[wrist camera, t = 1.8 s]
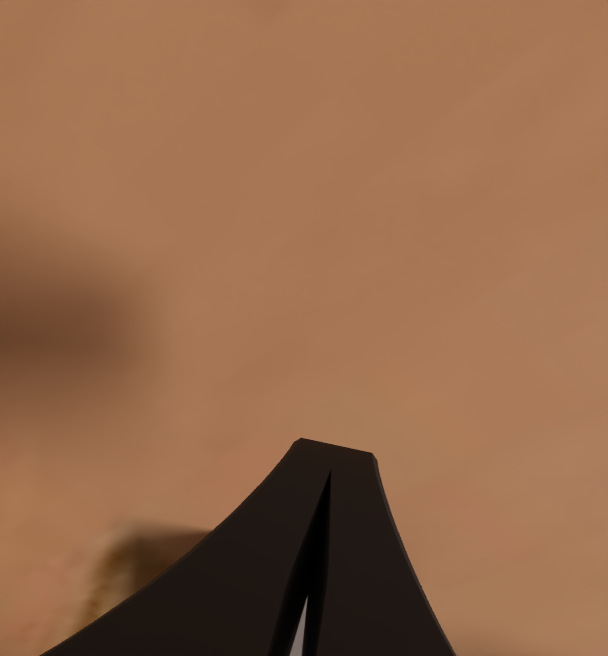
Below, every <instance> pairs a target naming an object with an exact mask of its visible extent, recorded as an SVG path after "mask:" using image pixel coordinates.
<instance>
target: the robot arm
mask: <svg viewBox="0 0 608 656" xmlns="http://www.w3.org/2000/svg"><path fill="white" fill-rule="evenodd" d="M307 596H308V597H307ZM306 599H307V606H306V616H305V626H304V635H303V645H302V655H301V656H456V654H455V652H454V650H453V649H452V647H451V645H450V643H449V641H448V639H447V638H446V636H445V634H444V632H443V630H442V628H441V626H440V624H439V622H438V620H437V618H436V616H435V614H434V612H433V610H432V608H431V606H430V604H429V602H428V600H427V598H426V595H425V593H424V591H423V589H422V587H421V585H420V583H419V581H418V578H417V576H416V574H415V572H414V569H413V567H412V565H411V562H410V560H409V558H408V555H407V553H406V550H405V548H404V545H403V543H402V540H401V537H400V535H399V532H398V530H397V527H396V525H395V522H394V519H393V516H392V514H391V511H390V508H389V504H388V501H387V498H386V495H385V492H384V488H383V485H382V481H381V477H380V473H379V468H378V462H377V459H376V458H375V456H374V455H373V454H372V453H370V452H365V451H360V450H356V449H351V448H346V447H342V446H337V445H332V444H328V443H323V442H318V441H314V440H309V439H304V438H300V439H298V440H297V441H295V442H294V443H293V444H292V446H291V447H290V449H289V450H288V452H287V453H286V454H285V456H284V457H283V458H282V459H281V461H280V462H279V463H278V464H277V466H276V467H275V468H274V469H273V470H272V471H271V473H270V474H269V475H268V476H267V477H266V478H265V479H264V480H263V482H262V483H261V484H260V485H259V486H258V487H257V488H256V489H255V490H254V491H253V492H252V493H251V494H250V495H249V496H248V497H247V498H246V499H245V500H244V501H243V502H242V503H241V504H240V505H239V506H238V507H237V508H236V509H235V510H234V511H233V512H232V513H231V514H230V515H229V516H228V517H227V518H226V519H225V520H224V521H223V522H221V523H220V524H219V525H218V526H217V527H216V528H215V529H214V530H213V531H212V532H210V533H209V534H208V535H207V536H206V537H205V538H204V539H203V540H202V541H200V542H199V543H198V544H197V545H196V546H195V547H194V548H192V549H191V550H190V551H189V552H188V553H186V554H185V555H184V556H183V557H182V558H180V559H179V560H178V561H177V562H175V563H174V564H173V565H172V566H170V567H169V568H168V569H167V570H165V571H164V572H163V573H161V574H160V575H159V576H157V577H156V578H155V579H153V580H152V581H151V582H150V583H148V584H147V585H146V586H144V587H143V588H142V589H140V590H139V591H137V592H136V593H135V594H133V595H132V596H130V597H129V598H127V599H126V600H125V601H123V602H122V603H120V604H119V605H117V606H116V607H114V608H113V609H111V610H110V611H109V612H107V613H106V614H104V615H103V616H101V617H100V618H98V619H97V620H95V621H94V622H93V623H91V624H90V625H88V626H87V627H85V628H83V629H82V630H80V631H79V632H77V633H76V634H74V635H73V636H71V637H69V638H68V639H66V640H65V641H63V642H62V643H60V644H58V645H57V646H55V647H53V648H52V649H50V650H48V651H47V652H45V653H43V654H41V655H40V656H290V653H291V650H292V647H293V643H294V640H295V636H296V633H297V630H298V626H299V623H300V620H301V616H302V613H303V610H304V606H305V603H306Z"/></svg>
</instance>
